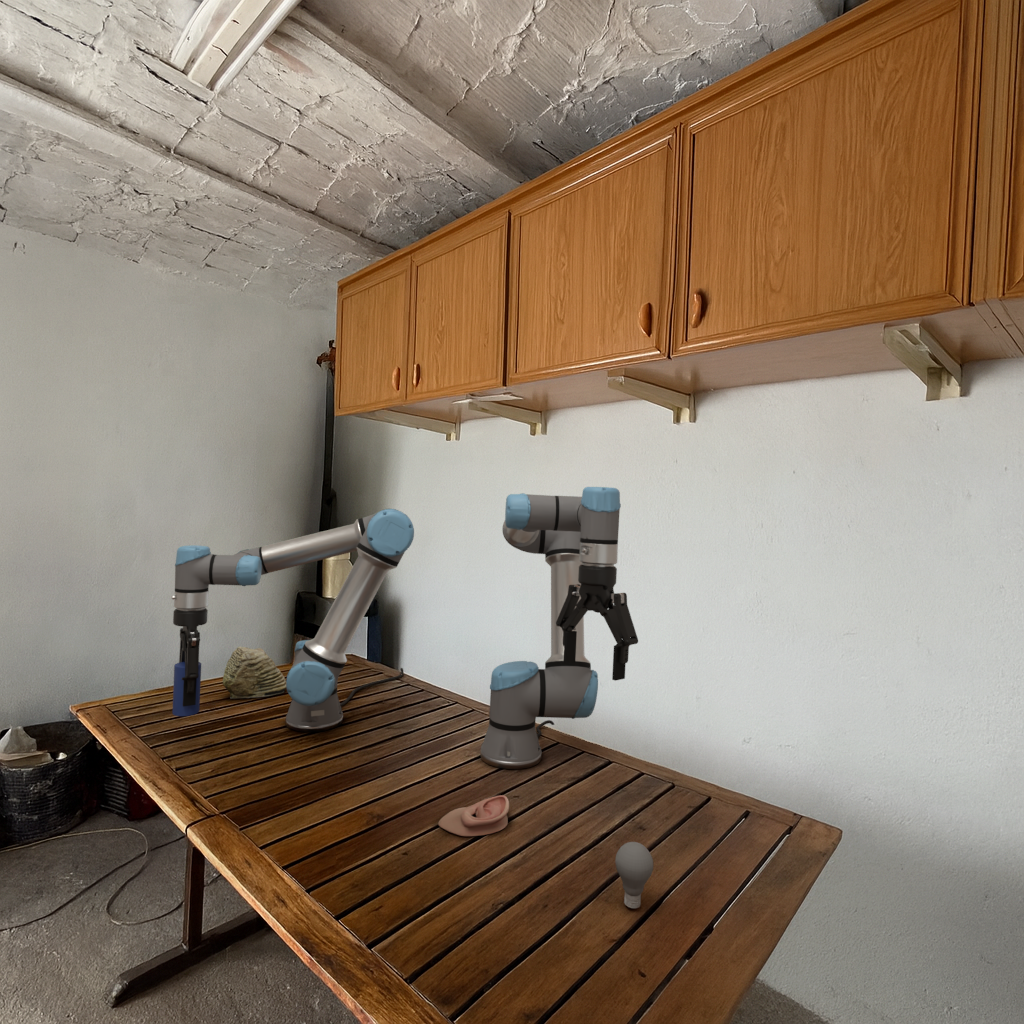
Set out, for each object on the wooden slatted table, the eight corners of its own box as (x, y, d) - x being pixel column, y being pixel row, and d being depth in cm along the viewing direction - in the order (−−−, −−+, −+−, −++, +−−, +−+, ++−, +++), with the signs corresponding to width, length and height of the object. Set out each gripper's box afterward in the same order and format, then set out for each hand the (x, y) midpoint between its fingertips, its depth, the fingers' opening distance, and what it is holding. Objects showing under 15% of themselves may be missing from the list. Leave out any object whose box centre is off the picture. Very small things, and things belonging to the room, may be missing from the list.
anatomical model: (433, 811, 121) (451, 785, 132) (432, 831, 121) (450, 804, 133) (501, 821, 119) (513, 794, 130) (500, 842, 119) (512, 813, 130)
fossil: (218, 695, 195) (220, 647, 195) (278, 685, 208) (279, 640, 207) (228, 703, 189) (230, 653, 188) (289, 692, 201) (290, 645, 201)
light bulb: (609, 894, 104) (612, 834, 104) (645, 894, 105) (647, 834, 105) (618, 918, 98) (621, 854, 98) (656, 918, 99) (659, 854, 99)
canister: (201, 714, 156) (203, 665, 156) (173, 717, 153) (175, 668, 152) (197, 706, 161) (199, 660, 161) (171, 710, 158) (173, 662, 157)
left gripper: (168, 602, 162) (165, 692, 162) (179, 616, 147) (175, 715, 147) (201, 601, 166) (197, 688, 167) (214, 614, 151) (210, 710, 151)
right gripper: (542, 558, 133) (537, 658, 134) (633, 572, 114) (628, 689, 114) (568, 557, 138) (563, 654, 138) (660, 571, 118) (654, 683, 119)
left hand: (187, 701), depth 157 cm, fingers closed on canister, 6 cm apart
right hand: (592, 670), depth 126 cm, fingers open, 13 cm apart
